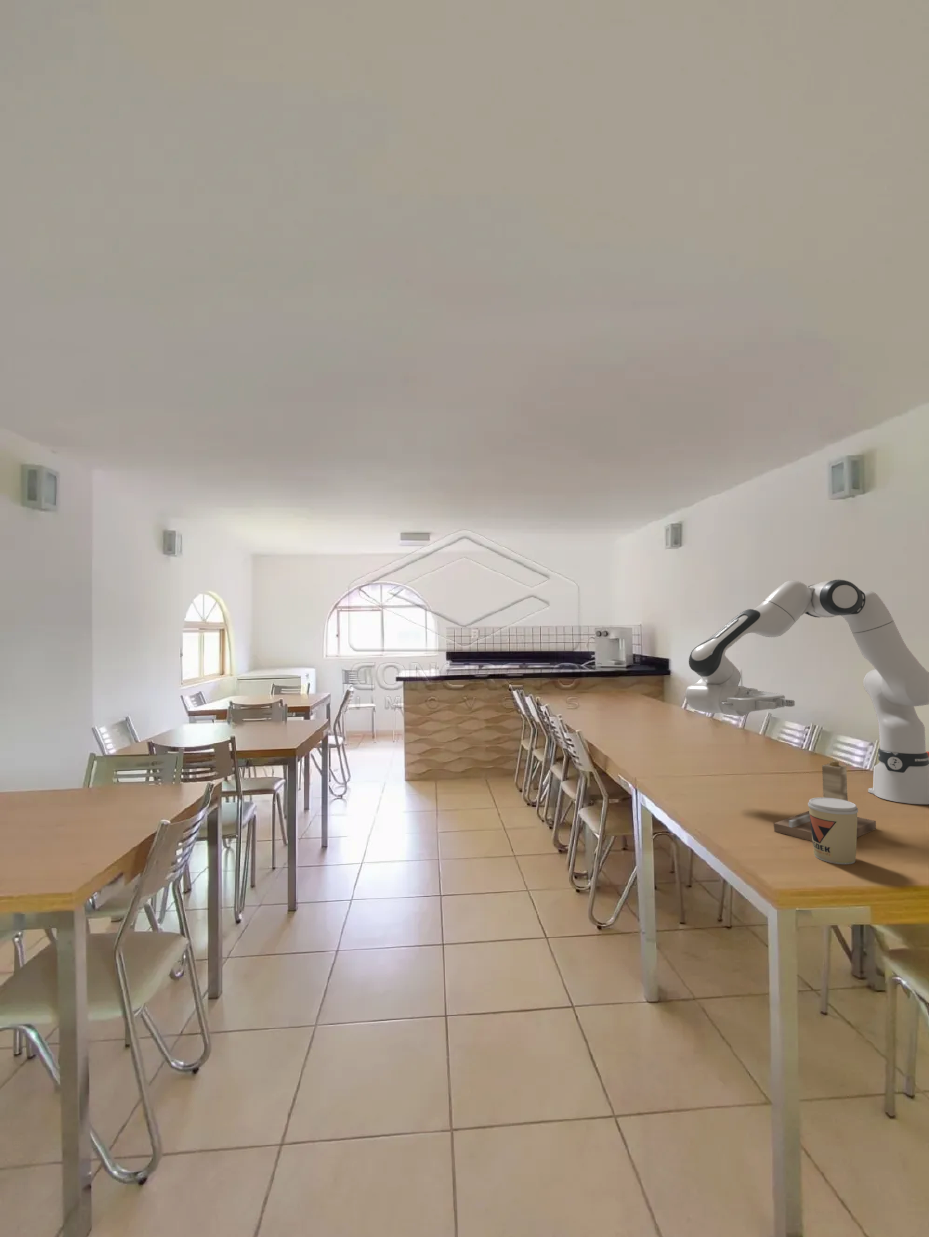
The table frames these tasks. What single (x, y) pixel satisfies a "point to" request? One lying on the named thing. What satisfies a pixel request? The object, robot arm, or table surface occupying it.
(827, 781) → the beige tall block
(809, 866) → the table surface
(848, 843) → the coffee cup
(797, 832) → the board
